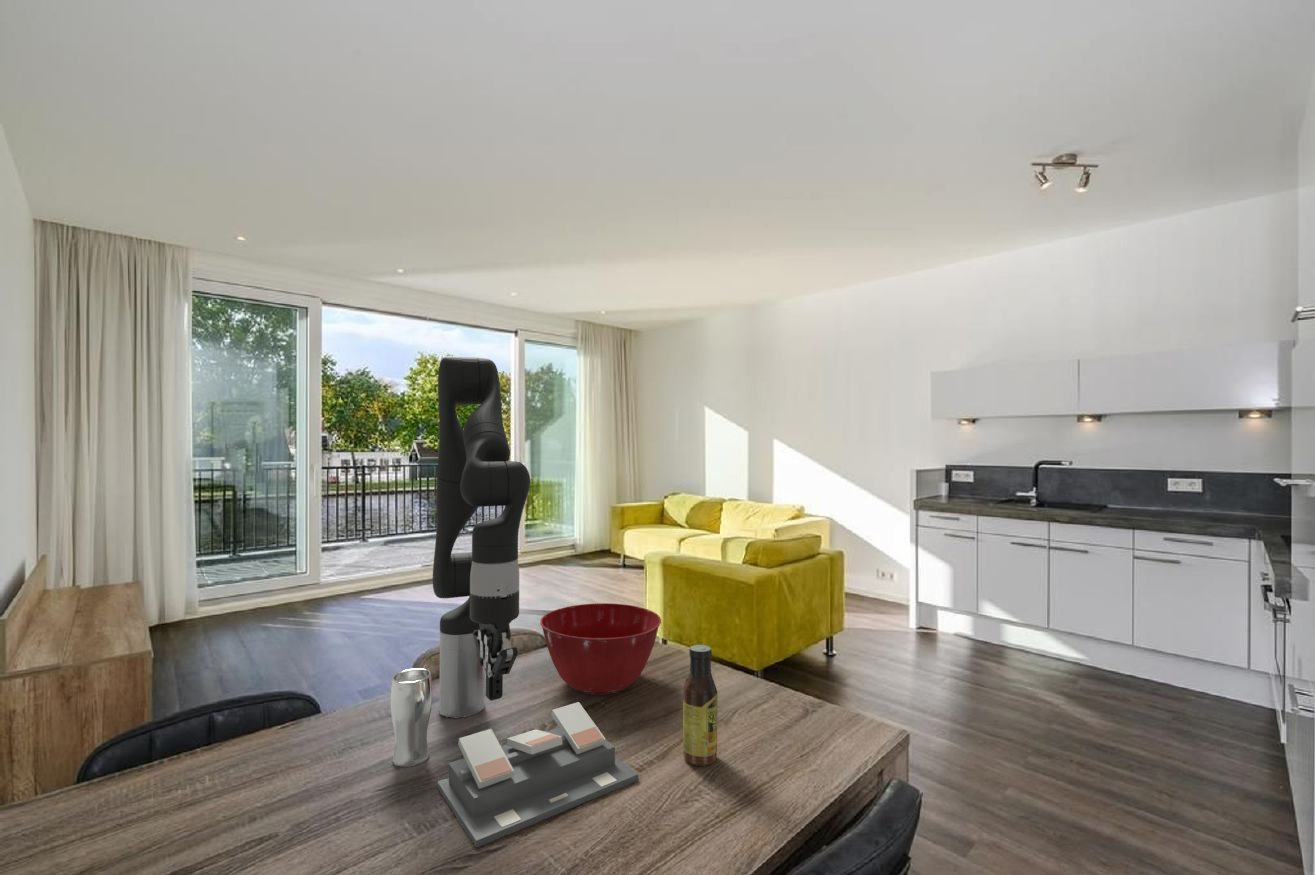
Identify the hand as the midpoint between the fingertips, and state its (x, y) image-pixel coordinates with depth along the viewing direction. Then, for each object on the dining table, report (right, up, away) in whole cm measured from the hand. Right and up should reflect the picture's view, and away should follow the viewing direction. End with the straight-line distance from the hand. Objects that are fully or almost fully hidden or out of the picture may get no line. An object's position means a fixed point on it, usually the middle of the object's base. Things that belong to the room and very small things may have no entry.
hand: (494, 697), depth 94 cm
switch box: (+6, -17, +6) cm, 19 cm away
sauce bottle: (+34, -17, +14) cm, 40 cm away
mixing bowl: (+12, -17, +47) cm, 52 cm away
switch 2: (+5, -11, +7) cm, 14 cm away
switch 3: (+12, -11, +13) cm, 20 cm away
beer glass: (-19, -17, +14) cm, 29 cm away
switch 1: (-2, -11, +2) cm, 11 cm away
